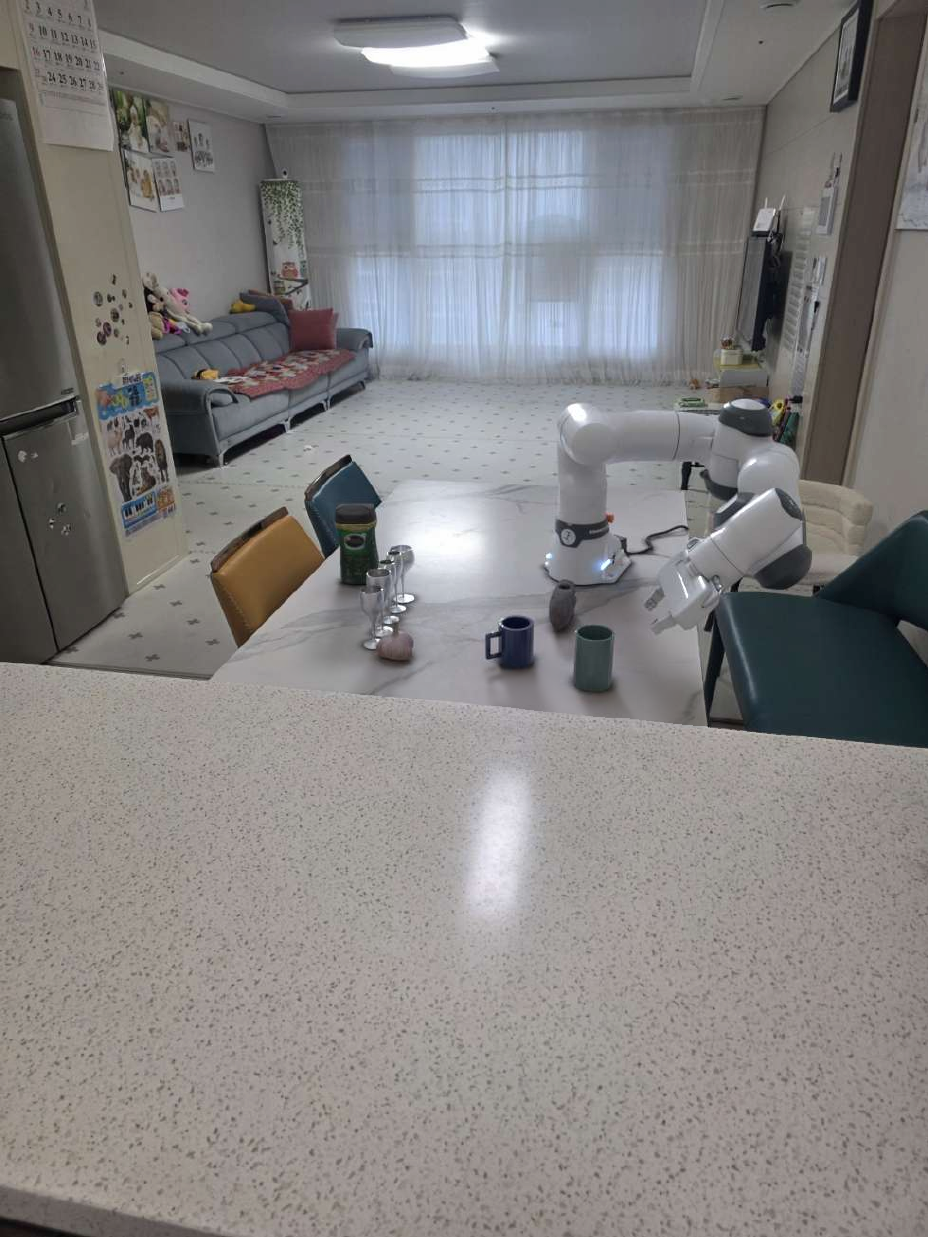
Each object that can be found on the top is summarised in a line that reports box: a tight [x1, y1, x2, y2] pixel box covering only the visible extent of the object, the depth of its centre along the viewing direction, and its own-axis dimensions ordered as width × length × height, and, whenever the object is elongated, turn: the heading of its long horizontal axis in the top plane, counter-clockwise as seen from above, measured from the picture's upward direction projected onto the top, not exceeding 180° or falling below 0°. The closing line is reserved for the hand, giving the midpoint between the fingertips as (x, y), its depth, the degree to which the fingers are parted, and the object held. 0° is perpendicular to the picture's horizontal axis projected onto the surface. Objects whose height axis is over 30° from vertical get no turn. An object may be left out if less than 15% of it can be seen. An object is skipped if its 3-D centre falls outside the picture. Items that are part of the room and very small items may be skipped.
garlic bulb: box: [375, 620, 414, 661], centre depth 158 cm, size 8×7×8 cm
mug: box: [484, 614, 535, 670], centre depth 155 cm, size 10×7×8 cm
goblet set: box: [358, 544, 416, 650], centre depth 172 cm, size 28×6×13 cm, turn 169°
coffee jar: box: [334, 502, 380, 585], centre depth 192 cm, size 10×8×19 cm
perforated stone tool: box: [548, 579, 578, 631], centre depth 171 cm, size 15×5×7 cm, turn 164°
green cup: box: [572, 623, 616, 693], centre depth 147 cm, size 7×7×10 cm
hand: (649, 618), depth 143 cm, fingers open, 8 cm apart
